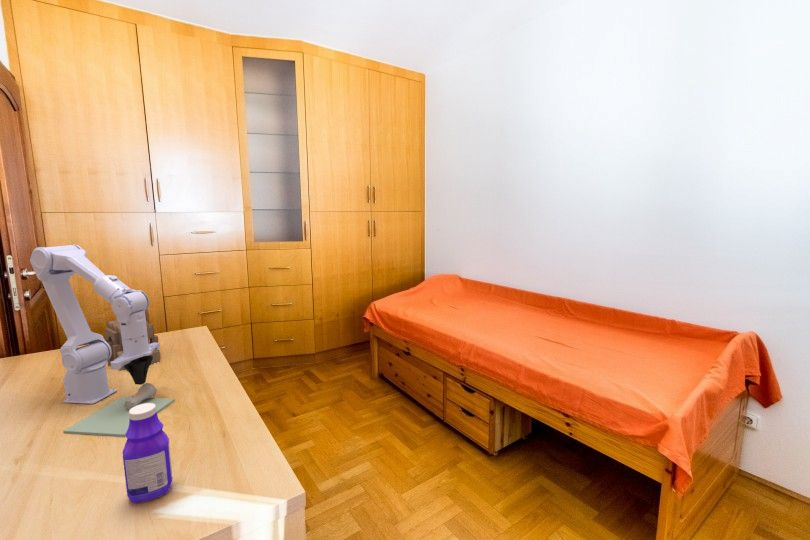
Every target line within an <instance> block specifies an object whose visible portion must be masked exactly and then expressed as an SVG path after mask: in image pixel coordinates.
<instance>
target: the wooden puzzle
mask: <svg viewBox="0 0 810 540" xmlns="http://www.w3.org/2000/svg"><path fill="white" fill-rule="evenodd" d="M148 309H149V308H147V309H146V310H145V317H146V326H147V335H148V344H151V343H160V342H159V336H158V335H155V328H154V324H152V323H150V315H149V310H148ZM104 333H105V338H104V340H105V341H106V342H107V343H108V344H109V345H110V347H111V350H112V354H111V357H110V359H108V363H107V365H108V366H109V367H110V368H111V363H110V362H112V361H114V360H115V359H117V358H118V357H119V356H121V355H122V354H123V345H122V337H121V329H120V323H119V322H118V321H117V319H115V320H110V321H108V322H107V323H106V327H105V328H104ZM148 356H153V360H152V362H151V363H150V365H151V364H152V365H155V364H154V363H156V364H158V363H157V362H159V363H161V352H160V349H159V350H155V351H153V352H152V354H150V355H148ZM118 370H119V371H125V370H126V371H127V372H128V370H127V369H126V368H125V367H124V366H122V367H121V368H120V369H118Z"/></svg>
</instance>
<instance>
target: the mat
mask: <svg viewBox="0 0 810 540" xmlns="http://www.w3.org/2000/svg"><path fill="white" fill-rule="evenodd" d="M131 397H132V396H121V397H119V398H117V399H116V400H114V401H112V402H110V403H108V404H106V405H105V406H104V407H101V408H100V409H98V410H96V411H95V412H93V413H91V414H90V415H88V416H86V417H84V418H83V419H81V420H79V421H78V422H75V423H74V424H73V425H70V427H67V428H66V429H64V430H63V431H62V433H63V434H68V435H69V434H70V435H87V436H104V437H117V438H118V437H120V438H121V437H122V438H126V436H125V434H126V432H127V430H128V427H129V408H128V409H126V406H124V404H125V402H126V400H127V399H128V398H131ZM175 401H176V400H175V398H164V397H163V398H160V397H152V398H149V399H145V400H143V401H141V402H140V404H145V403H153V404H155V405H156V410H157V414H158V413H159V414H160V412H162V411H163V410H165V409H166V408H167V407H168V406H170V405H172V404H173V403H174V402H175ZM140 404H138V405H140Z"/></svg>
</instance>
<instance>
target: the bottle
mask: <svg viewBox="0 0 810 540" xmlns="http://www.w3.org/2000/svg"><path fill="white" fill-rule="evenodd" d="M163 428H164V423H163V422H162V421H161V420H160V419H159V416H158V413H157V410H156V405H155V404H153V403H145V404H140V405H137V406H135V407H133V408H131V409H130V410H129V427H128V430H127V432H126V434H125V438H126V441H125V443H124V444H125V445H124V447H123V449H122V460H123V462H122V463H123V470H124V479H125V488H126V495H127V497H128V500H129V501H130V502H131V503H135V504H138V503H143V502H147V501H152V500H154V499H157V498H160V497H162V496H164V495H165V494H167V493H168V492H169V490H170V489H171V486H172V482H173V479H174V478H173V470H172V469H173V467H172V458H171V450H170V449H171V448H170V447H171V446H170V438H169V437H168V436H169V435H167V433H166V432H165V431H164V430H163Z"/></svg>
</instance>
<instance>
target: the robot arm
mask: <svg viewBox="0 0 810 540" xmlns="http://www.w3.org/2000/svg"><path fill="white" fill-rule="evenodd" d="M29 262H30V265H31V266H32V269H33V271H34V273H35V276H36V277H37V279H38V280H39V281H41V283H42V286H43V287H44V290H45V292H46V294H47V297H48V299H49V301H50V303H51V306H52V308H53V311H54V312H55V314H56V317H57V319H58V322H59V323H60V326H61V327H62V330H63V332H64V334H65V336H66V338H67V339H66V340H65V342H64V344H62V346H61V347H60V349H59V352H60V354H61V364H62V367H64V369H65V370H66V372H65V374H64V375H63V379H62V380H63V388H64V393H65V399H64V400H63V401H62V402H63V403H64V404H65V403H66V404H67V403H68V404H70V403H71V404H87V405H90V404H91V405H93V404H97V403H98V402H100V401H101V400H103V399H105V398H107V397H109V396H110V395H112V394H114V393H116V392H118V389H117V388H110V387H109V380H108V374H107V373H108V372H107V366H106V365H108V359H110V357H111V354H112V350H111V347H110V345H109V344H108V343H107V342H106V341H105V340H104V339H105V338H104V336H103V334H100V333H98V332H97V333H96V332H93V331H92V330H91V328H90V326H89V323H88V321H87V318H86V317H85V315H84V312H83V310H82V308H81V306H80V303H79V301H78V299H77V296H76V294H75V292H74V290H73V288H72V285H71V283H70V279H71V277H73V276H75V274H78V276H80V277H81V278H83V279H85V280H86V281H88V282H90V283H91V284H93V290H94V292H96V294H98V295H99V296H100V297H102V298H103V299H104V300H106V301H107V302H108V303H110V304H111V305H110V307H111V310H112V313H114V315H115V317H116V320H117V321H118V322H119V323H120V329H121V337H122V345H123V354H122V355H121V356H119V357H118V358H117V359H115V360H114V361H112V362H110V363H111V367H110V370H117V371H118V370H119V369H120V368H121V367H122V366H124V367H125V368H126V369H127V370H128V371H127V370H126V371H127V372H128V374H129V375H130V377H131V378H132V380H133V383H134V384H135V385H139V386H142V385H143V384H145V383H147V377H148V371H149V368H150V366H151V364H150V363H151V362H152V360H153V356H148V355H150V354H152V352H153V351H155V350H159V351H160V350H161V344H160V342H159V343H151V344H148V335H147V326H146V317H145V310H146V309H149V307H150V299H149V297H148V295H147V294H146V293H145V291H143V290H141V289H139V290H138V289H137V290H136V289H134V288H133V289H132V288H130V287H129V286H128V285H127V284H125V283H124V282H122V281H121V280H120V279H119V277H118V276H116V275H111V274H108V275H106V274H105V273H104V272H103V271H102V270H100V268H98V267H97V266H96V265H95V264H94V263H93V262H92V261H90V260H89V258H88V255H87V252H86V250H85V249H83V248H82V247H81V246H80V245H78V244H74V243H73V244H70V245H69V244H68V245H57V246H47V247H46V246H45V247H44V246H38V247H36V248H34V249H33V250H32V253H31V255H30V259H29Z"/></svg>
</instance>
